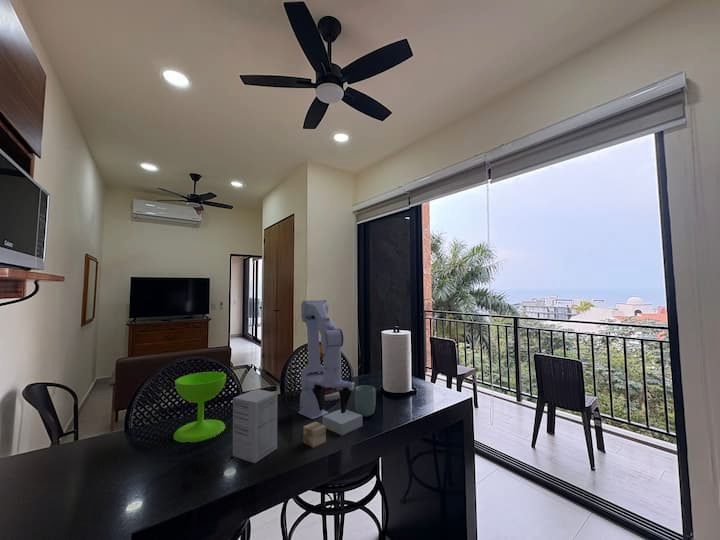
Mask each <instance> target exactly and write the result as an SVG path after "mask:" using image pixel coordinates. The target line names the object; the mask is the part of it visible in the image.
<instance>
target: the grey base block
mask: <svg viewBox="0 0 720 540" xmlns="http://www.w3.org/2000/svg"><path fill="white" fill-rule="evenodd" d="M322 425H325V426H326V430H329V431H332V432H334V433H336V434H338V435H339V436H345V435H346V434H348V433H350V432H353V431H355V430H357V429H359V428H361V427H363V415H360V414H358V413H357V412H355V411H351V410H350V409H347V408H346V412H345V413H341V408H340V409H337V410H334V411H332V412H330V413H329V412H328V414H326V415H323V416H322Z"/></svg>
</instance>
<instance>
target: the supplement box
mask: <svg viewBox="0 0 720 540" xmlns="http://www.w3.org/2000/svg"><path fill="white" fill-rule="evenodd" d="M277 449H278V393H277V392H273V391H271V390H270V391H268V390H264V389H259V388H255V389H253V390H251V391H248V392H245V393H242V394H239V395H238V396H235V397H233V398H232V456H233V457H235V458H238V459H241V460H244V461H247V462H250V463H253V464H256V463H258V462H259V461H260V460H262V459H263V458H265V457H267V456H268V455H270V454H271V453H272V452H274V451H275V450H277Z"/></svg>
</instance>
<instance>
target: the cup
mask: <svg viewBox="0 0 720 540" xmlns="http://www.w3.org/2000/svg"><path fill="white" fill-rule="evenodd" d="M376 393H377V391H376V387H375V386H372V385H369V384H368V385H367V384H366V385H359V386H356V387H354V405H355V410H356V413H357V414H360V415H363V417H365V418H366V417H371V416H372V415H373V414H374V412H375V410H376V403H377V401H376V399H377V397H376Z"/></svg>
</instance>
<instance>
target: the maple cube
mask: <svg viewBox="0 0 720 540" xmlns="http://www.w3.org/2000/svg"><path fill="white" fill-rule="evenodd" d="M302 437H303V442H302V443H304V444H306V445H307V446H309V447H310V448H316V447H318V446H320V445H322V444H324V443H326V442H327V428H326V426H325V425H323V423H320V422H318V421H314V422H311V423H308V424H307V425H303V436H302Z"/></svg>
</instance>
